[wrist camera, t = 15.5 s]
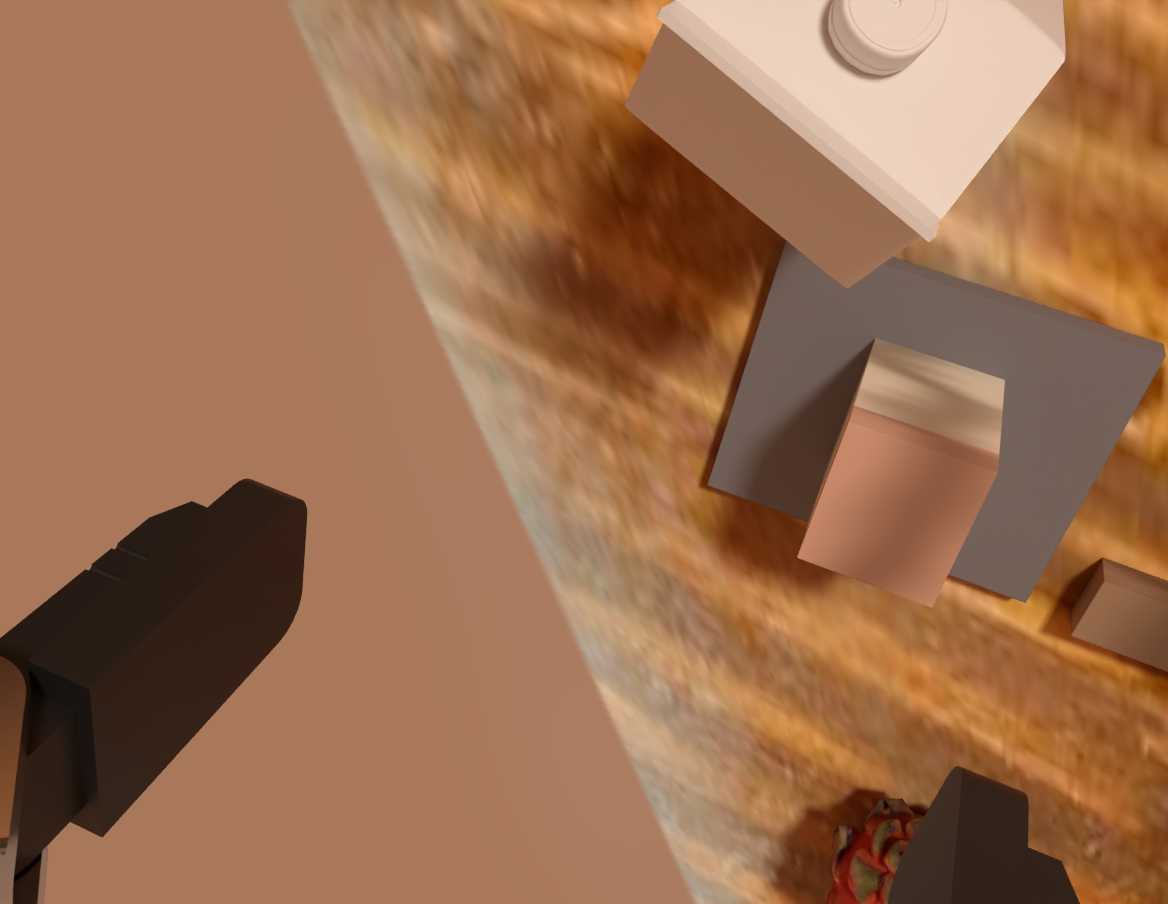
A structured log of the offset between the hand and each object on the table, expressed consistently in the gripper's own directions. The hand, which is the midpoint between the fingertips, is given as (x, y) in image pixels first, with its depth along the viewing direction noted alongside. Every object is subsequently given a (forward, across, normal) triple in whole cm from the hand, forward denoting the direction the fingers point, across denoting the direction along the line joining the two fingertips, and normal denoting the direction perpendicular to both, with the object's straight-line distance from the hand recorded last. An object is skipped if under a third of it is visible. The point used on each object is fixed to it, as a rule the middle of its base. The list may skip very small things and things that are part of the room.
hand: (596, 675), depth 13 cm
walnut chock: (+32, -17, +17) cm, 40 cm away
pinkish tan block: (+32, -5, +13) cm, 35 cm away
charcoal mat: (+32, -5, +12) cm, 35 cm away
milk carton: (+32, +1, -3) cm, 32 cm away
